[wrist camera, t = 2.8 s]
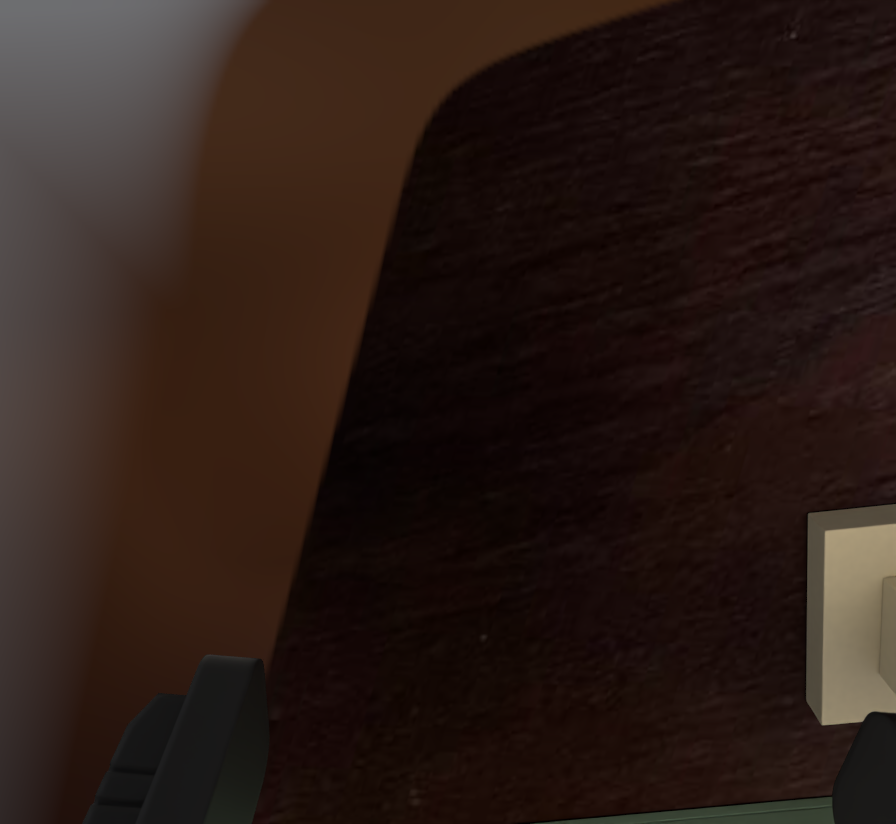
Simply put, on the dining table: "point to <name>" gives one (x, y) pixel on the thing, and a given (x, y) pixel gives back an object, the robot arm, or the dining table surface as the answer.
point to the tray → (730, 814)
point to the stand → (851, 613)
